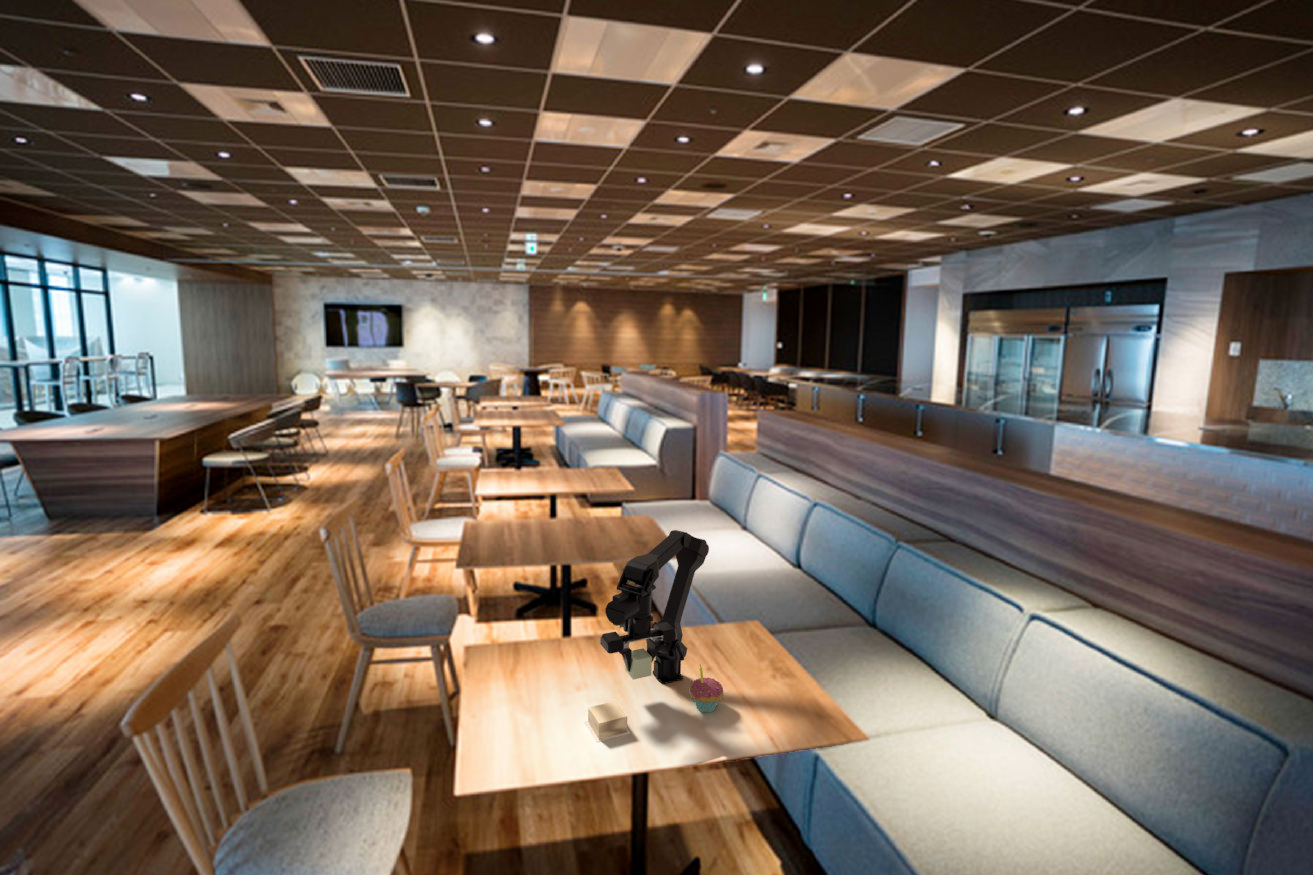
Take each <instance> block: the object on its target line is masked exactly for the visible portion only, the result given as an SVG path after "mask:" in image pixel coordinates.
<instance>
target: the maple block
mask: <svg viewBox="0 0 1313 875" xmlns="http://www.w3.org/2000/svg"><path fill="white" fill-rule="evenodd" d="M587 708H588V710H587V712H588V714H587V719H588V720H587V721H588V724H589V725H590V727H591V728H592V730H593V731H594V733H595V734H596V736H597V738H598V739H603V738H607V737H611V736H614V735H618V734H622V733H626V732H627V728H628V715H627V714H626V712H625V711H624V710H623V709H622V707H621V705H620V704H619V703H618V702H617V700H614V701H609V702H605V703H602V704H597V705H594V706H590V707H587Z"/></svg>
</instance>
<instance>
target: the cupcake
mask: <svg viewBox="0 0 1313 875" xmlns="http://www.w3.org/2000/svg"><path fill="white" fill-rule="evenodd" d="M698 668H699V676H700V678H697V679H694V681H692V682H691V683H690V685H689V689H688V692H689V696H690V697H691V698H693V701H694V704H695V707H696V709H697V710H698V711H699V712H702V713H711V712H714V711H715V710H716V707H717V704H718V702H719V701H720V700H721V699H723V698H724V687H723V685H722V684H721V683H720V682H719V681H718V680H716V679H715V678H711V677H704V671H703V666H702V665H701V664H700V663H699V666H698Z"/></svg>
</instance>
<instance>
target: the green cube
mask: <svg viewBox="0 0 1313 875" xmlns="http://www.w3.org/2000/svg"><path fill="white" fill-rule="evenodd" d="M631 650H632V649H631ZM624 666H625V667H624V670H625V672H626V673H627V674H628V675H629V676H630V678H631V679H632V680H637V679H641V678H646V677H651V676H652V672H653V670H652V666H653V662H652V657H651V655H650V654H649V653H648V652H647V649H645V648H644V647H642V648H638V649H637V648H636V649H633V650H632V657H631V669H630V672H628V671H627V668H626V665H624Z"/></svg>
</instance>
